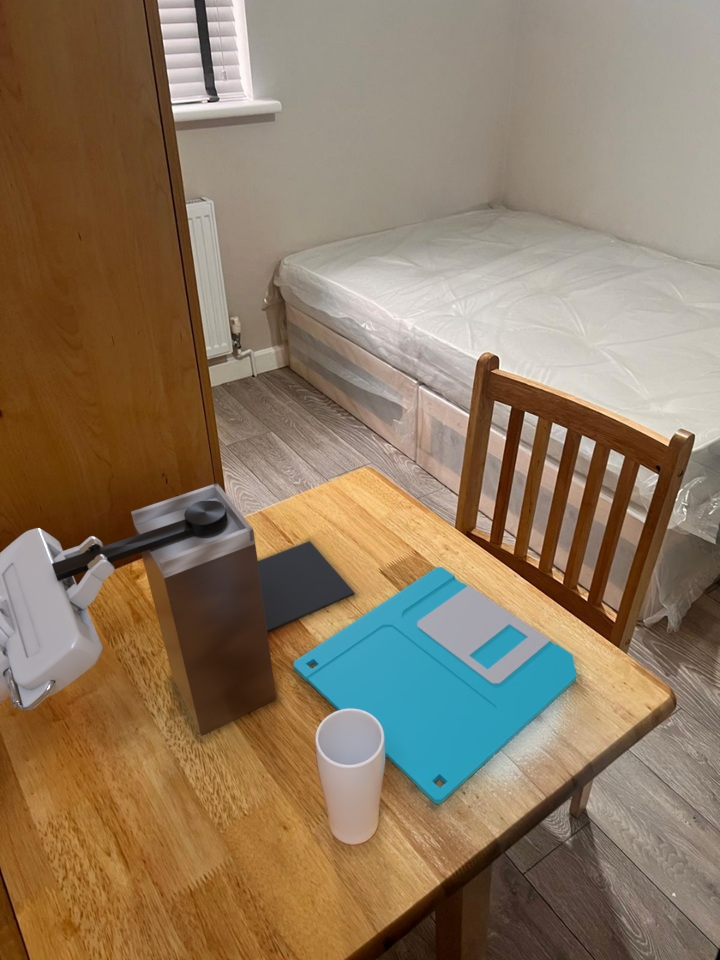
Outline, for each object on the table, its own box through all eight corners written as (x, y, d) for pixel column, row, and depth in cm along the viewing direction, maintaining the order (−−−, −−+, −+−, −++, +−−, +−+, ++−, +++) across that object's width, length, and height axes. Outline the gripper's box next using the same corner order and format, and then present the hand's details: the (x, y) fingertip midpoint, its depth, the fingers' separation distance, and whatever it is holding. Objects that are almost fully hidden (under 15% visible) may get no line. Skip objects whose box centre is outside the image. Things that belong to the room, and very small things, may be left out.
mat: (199, 662, 97) (199, 660, 97) (165, 599, 107) (164, 597, 107) (354, 594, 107) (354, 592, 107) (309, 542, 117) (309, 540, 117)
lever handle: (60, 588, 70) (56, 575, 69) (51, 563, 74) (46, 550, 73) (234, 527, 78) (232, 515, 77) (218, 507, 81) (216, 495, 80)
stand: (201, 736, 88) (160, 563, 72) (173, 680, 95) (130, 511, 79) (276, 700, 92) (253, 529, 76) (244, 648, 99) (217, 482, 83)
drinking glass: (348, 867, 74) (344, 781, 66) (309, 819, 79) (300, 732, 70) (398, 826, 78) (400, 739, 69) (358, 782, 82) (354, 695, 74)
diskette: (291, 668, 96) (291, 663, 95) (439, 570, 111) (439, 565, 110) (437, 807, 79) (438, 802, 79) (587, 670, 94) (588, 665, 94)
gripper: (-12, 709, 63) (110, 598, 64) (-41, 574, 77) (59, 486, 79) (43, 732, 67) (156, 628, 68) (6, 601, 82) (99, 517, 83)
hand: (104, 551), depth 74 cm, fingers closed on lever handle, 2 cm apart
